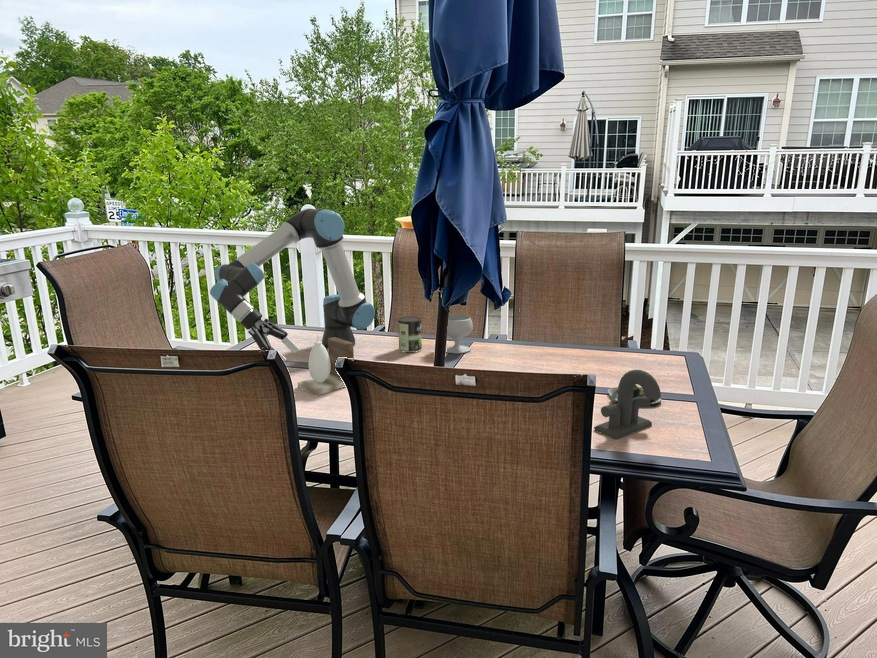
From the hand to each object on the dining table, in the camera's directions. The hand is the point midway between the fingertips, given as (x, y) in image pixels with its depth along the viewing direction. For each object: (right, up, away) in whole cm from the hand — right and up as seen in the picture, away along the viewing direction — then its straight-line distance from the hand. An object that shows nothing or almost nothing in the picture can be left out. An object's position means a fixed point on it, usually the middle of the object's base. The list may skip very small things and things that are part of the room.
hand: (290, 356), depth 225 cm
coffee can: (+41, +1, +48) cm, 63 cm away
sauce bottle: (+11, -10, +2) cm, 15 cm away
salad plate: (+121, -15, -11) cm, 123 cm away
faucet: (+113, -22, -38) cm, 121 cm away
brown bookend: (+12, -11, +4) cm, 17 cm away
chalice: (+62, 0, +46) cm, 77 cm away
